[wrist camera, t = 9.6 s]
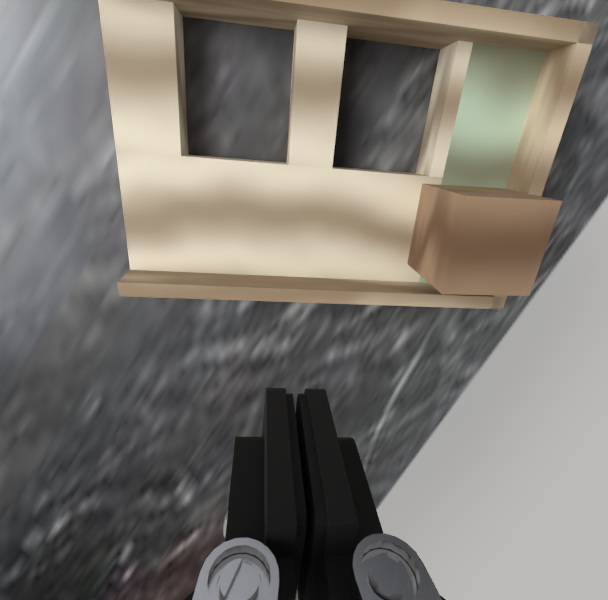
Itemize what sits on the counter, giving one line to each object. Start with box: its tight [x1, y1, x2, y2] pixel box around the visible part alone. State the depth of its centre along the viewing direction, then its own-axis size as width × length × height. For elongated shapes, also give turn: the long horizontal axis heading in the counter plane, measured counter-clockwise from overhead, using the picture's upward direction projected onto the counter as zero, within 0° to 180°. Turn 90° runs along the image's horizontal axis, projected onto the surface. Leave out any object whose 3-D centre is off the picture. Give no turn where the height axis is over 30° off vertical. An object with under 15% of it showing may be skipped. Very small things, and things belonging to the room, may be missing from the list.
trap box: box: [98, 0, 600, 309], centre depth 24 cm, size 18×28×5 cm, turn 85°
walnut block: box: [407, 184, 562, 296], centre depth 24 cm, size 6×6×6 cm
